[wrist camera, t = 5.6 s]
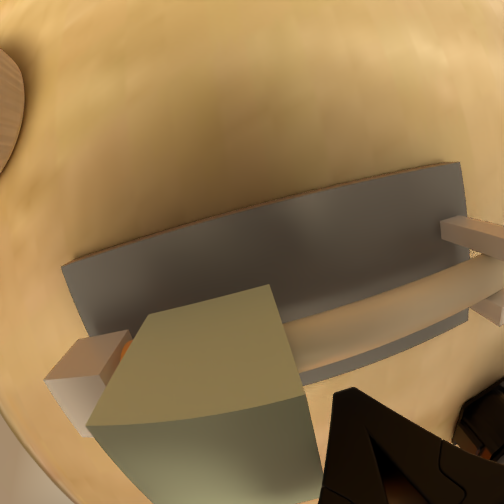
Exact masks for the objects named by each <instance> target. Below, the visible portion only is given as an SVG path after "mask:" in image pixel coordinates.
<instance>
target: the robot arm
mask: <svg viewBox="0 0 504 504" xmlns="http://www.w3.org/2000/svg"><path fill="white" fill-rule="evenodd" d="M452 443H453V444H451V443H449V442H447V441H445V440H442V439H441V438H440V437H438V436H436V435H434V434H433V433H431V432H429V431H427V430H425V429H424V428H422V427H420V426H418V425H417V424H415V423H413V422H412V421H410V420H408V419H406V418H405V417H403V416H401V415H400V414H398V413H396V412H395V411H393V410H391V409H390V408H388V407H386V406H385V405H383V404H381V403H380V402H378V401H376V400H375V399H373V398H372V397H370V396H368V395H367V394H365V393H364V392H362V391H360V390H359V389H357V388H355V387H351V388H348V389H344V390H341V391H338V392H335V393H334V394H333V403H332V413H331V422H330V430H329V439H328V446H327V454H326V461H325V467H324V474H323V480H322V487H321V490H320V496H319V501H318V504H504V378H502V379H501V380H500V381H498V382H497V383H495V384H494V385H492V386H491V387H490V388H488V389H487V390H485V391H484V392H482V393H481V394H479V395H478V396H476V397H474V398H473V399H471V400H470V401H468V402H466V403H465V404H464V405H463V407H462V409H461V413H460V416H459V420H458V424H457V427H456V430H455V434H454V437H453V440H452ZM456 444H458V445H459V447H460V448H459V447H457V446H455V445H456Z"/></svg>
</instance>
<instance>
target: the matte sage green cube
mask: <svg viewBox="0 0 504 504" xmlns="http://www.w3.org/2000/svg"><path fill="white" fill-rule="evenodd" d="M85 426H86V428H87V429H88V430H89V432H90V433H91V434H92V436H93V437H94V438H95V440H96V441H97V442H98V443H99V445H100V446H101V447H102V448H103V450H104V451H105V452H106V453H107V454H108V456H109V457H110V458H111V459H112V460H113V462H114V463H115V464H116V465H117V466H118V467H119V468H120V470H121V471H122V472H123V473H124V474H125V475H126V476H127V477H128V478H129V479H130V480H131V482H132V483H133V484H134V485H135V486H136V487H137V488H138V489H139V490H140V491H141V492H142V493H143V494H144V495H145V496H146V497H147V498H148V499H149V500H150V501H151V502H152V503H153V504H297V503H301V502H305V501H310V500H314V499H317V498H319V496H320V490H321V487H322V480H323V471H322V466H321V461H320V457H319V452H318V447H317V443H316V438H315V434H314V429H313V425H312V420H311V416H310V412H309V407H308V403H307V398H306V394H305V391H304V388H303V385H302V382H301V379H300V376H299V373H298V370H297V367H296V363H295V360H294V357H293V354H292V351H291V348H290V345H289V342H288V339H287V336H286V333H285V330H284V327H283V324H282V321H281V318H280V315H279V312H278V309H277V306H276V303H275V300H274V297H273V294H272V291H271V288H270V285H269V284H267V285H264V286H260V287H256V288H252V289H249V290H245V291H241V292H237V293H233V294H230V295H226V296H222V297H218V298H214V299H210V300H206V301H202V302H198V303H194V304H190V305H186V306H182V307H177V308H173V309H169V310H165V311H161V312H156V313H152V314H148V316H147V318H146V319H145V321H144V323H143V324H142V326H141V328H140V329H139V331H138V333H137V334H136V336H135V338H134V339H133V341H132V343H131V344H130V346H129V348H128V349H127V351H126V353H125V355H124V356H123V358H122V360H121V361H120V363H119V365H118V367H117V368H116V370H115V372H114V374H113V375H112V377H111V379H110V381H109V383H108V384H107V386H106V388H105V390H104V392H103V393H102V395H101V397H100V399H99V401H98V402H97V404H96V406H95V408H94V410H93V412H92V414H91V416H90V417H89V419H88V421H87V423H86V425H85Z"/></svg>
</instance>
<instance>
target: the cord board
mask: <svg viewBox="0 0 504 504" xmlns="http://www.w3.org/2000/svg"><path fill="white" fill-rule="evenodd" d="M469 249H472V250H474V251H477V252H480V253H483V254H480V255H478V256H476V257H473V258H471V259H470V255H469ZM61 269H62V272H63V275H64V277H65V280H66V283H67V285H68V288H69V291H70V293H71V296H72V298H73V300H74V303H75V305H76V308H77V310H78V312H79V315H80V317H81V319H82V322H83V324H84V326H85V328H86V330H87V332H88V335H89V337H88V338H83V339H78V340H77V341H76V342H75V343H74V345H73V346H72V347H71V348H70V349H69V350H68V351H67V353H66V354H65V355H64V356H63V357H62V358H61V360H60V361H59V362H58V363H57V364H56V365H55V367H54V368H53V369H52V370H51V371H50V372H49V374H48V375H47V376H46V377H45V378H44V382H45V384H46V385H47V387H48V389H49V390H50V392H51V394H52V395H53V397H54V398H55V400H56V401H57V403H58V404H59V406H60V407H61V409H62V410H63V412H64V413H65V415H66V416H67V417H68V419H69V420H70V422H71V423H72V424H73V426H74V427H75V428H76V430H77V431H78V432H79V434H80V435H81V436H82V437H93V436H92V434H91V433H90V432H89V430H88V429H87V428H86V426H85V425H86V423H87V421H88V419H89V417H90V416H91V414H92V412H93V410H94V408H95V406H96V404H97V402H98V401H99V399H100V397H101V395H102V393H103V392H104V390H105V388H106V386H107V384H108V383H109V381H110V379H111V377H112V375H113V374H114V372H115V370H116V368H117V367H118V365H119V363H120V361H121V360H122V358H123V356H124V355H125V353H126V351H127V349H128V348H129V346H130V344H131V343H132V341H133V339H134V338H135V336H136V334H137V333H138V331H139V329H140V328H141V326H142V324H143V323H144V321H145V319H146V318H147V316H148V314H152V313H156V312H161V311H165V310H169V309H173V308H177V307H182V306H186V305H190V304H194V303H198V302H202V301H206V300H210V299H214V298H218V297H222V296H226V295H230V294H233V293H237V292H241V291H245V290H249V289H252V288H256V287H260V286H264V285H267V284H269V285H270V288H271V291H272V294H273V297H274V300H275V303H276V306H277V309H278V312H279V315H280V318H281V321H282V324H283V327H284V330H285V333H286V336H287V339H288V342H289V345H290V348H291V351H292V354H293V357H294V360H295V363H296V367H297V370H298V373H299V376H300V379H301V382H302V385H303V386H305V385H309V384H312V383H316V382H319V381H322V380H325V379H329V378H332V377H335V376H338V375H341V374H344V373H347V372H350V371H353V370H356V369H358V368H361V367H364V366H367V365H369V364H372V363H375V362H377V361H380V360H383V359H385V358H388V357H390V356H393V355H395V354H398V353H400V352H402V351H405V350H407V349H409V348H412V347H414V346H416V345H419V344H421V343H423V342H425V341H427V340H430V339H432V338H434V337H436V336H438V335H440V334H442V333H444V332H446V331H448V330H450V329H452V328H454V327H456V326H458V325H460V324H462V323H464V322H466V321H468V311H469V308H471V309H473V310H474V311H476V312H477V313H479V314H481V315H482V316H484V317H485V318H487V319H488V320H490V321H492V322H493V323H495V324H496V325H498V326H499V327H500V326H502V325H503V324H504V289H503V288H504V226H502V225H498V224H494V223H490V222H486V221H481V220H477V219H473V218H468V217H467V209H466V200H465V192H464V184H463V178H462V171H461V165H460V162H443V163H438V164H433V165H427V166H422V167H417V168H412V169H407V170H402V171H397V172H392V173H387V174H383V175H378V176H373V177H369V178H364V179H359V180H355V181H350V182H346V183H342V184H337V185H333V186H329V187H324V188H320V189H316V190H312V191H308V192H304V193H300V194H296V195H292V196H288V197H284V198H280V199H276V200H272V201H268V202H264V203H260V204H256V205H253V206H249V207H245V208H241V209H238V210H234V211H230V212H227V213H223V214H219V215H216V216H212V217H209V218H205V219H202V220H198V221H195V222H191V223H188V224H184V225H181V226H178V227H174V228H171V229H168V230H164V231H161V232H158V233H154V234H151V235H148V236H145V237H141V238H138V239H135V240H132V241H129V242H125V243H122V244H119V245H116V246H113V247H110V248H107V249H104V250H101V251H98V252H95V253H92V254H89V255H86V256H83V257H80V258H77V259H74V260H72V261H70V262H68V263H67V264H65V265H63V266H61Z"/></svg>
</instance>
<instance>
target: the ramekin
mask: <svg viewBox="0 0 504 504" xmlns="http://www.w3.org/2000/svg"><path fill="white" fill-rule="evenodd" d="M24 101H25V94H24V84H23V78H22V74H21V72H20V70H19V67H18V66H17V65H16V63H15V62H14V60H12V59H11V58H10V57H9V56H8V55H7V54H6V53H5V52H4V51H3V50H2V49H1V48H0V173H1V172H2V170H3V168H4V166H5V165H6V163H7V161H8V159H9V158H10V155H11V153H12V151H13V149H14V146H15V144H16V141H17V138H18V135H19V132H20V128H21V124H22V119H23V113H24Z"/></svg>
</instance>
